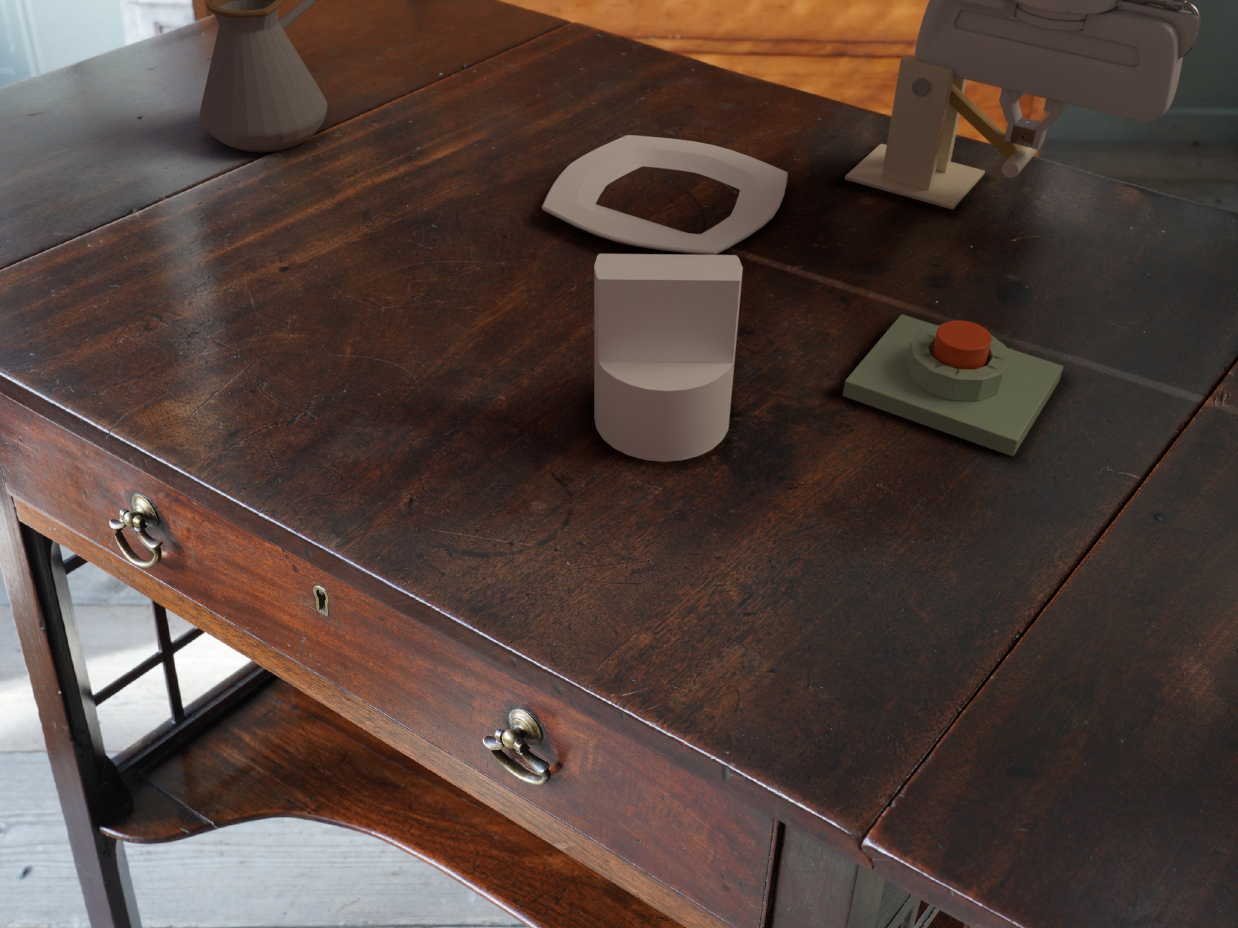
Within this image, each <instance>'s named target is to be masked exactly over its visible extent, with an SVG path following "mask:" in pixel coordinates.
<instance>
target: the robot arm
mask: <svg viewBox="0 0 1238 928" xmlns="http://www.w3.org/2000/svg"><path fill="white" fill-rule="evenodd" d="M1185 8H1186V9H1187V10H1185ZM1201 23H1202V18H1201V13H1200V12H1199V10H1198V8H1197V7H1196V6H1195V5H1194V4H1192V3H1191V2H1189V1H1188V0H928V2H927V4H926V8H925V10H924V13H923V16H922V20H921V22H920V26H919V30H918V34H917V38H916V42H915V49H914V58H916V59H917V60H918V61H921V62H925V63H930V64H934V65H939V66H943V67H947V68H952V69H954V71H953V77H957V78H962V79H966V80H967V81H969V82H975V83H979V84H983V85H987V86H991V87H995V88H999V89H1001V91H1000V95H999V99H998V101H999V104H1000V107H1001V110H1002V112H1003V116H1004V119H1005V121H1006V123H1007V125H1006V129H1005V133H1006V134H1005V138H1004V141H1005V142H1008V143H1013V144H1017V145H1018V146H1020V145H1021V146H1025V147H1028V148H1032V149H1036V150H1037V151H1039V150H1040V149H1041V147H1042V146H1043V144H1044V142H1045V138H1046V135H1047V132H1048V128H1049V127H1050V126H1051V125H1052V124H1053V123H1054V122H1055V121H1056V120H1057V119H1058V118H1059V117H1061V115H1062V114H1063V113H1064V112H1065V110H1066V109H1067V108H1068V106H1069V105H1070V106H1075V107H1079V108H1082V109H1083V108H1084V109H1087V110H1091V111H1096V112H1100V113H1103V114H1104V113H1106V114H1108V115H1113V116H1117V117H1121V118H1125V119H1129V120H1134V121H1138V122H1142V123H1146V124H1147V123H1148V124H1150V123H1153V122H1155V121H1156V120H1158V119H1159V118H1161V117H1162V116H1164V115H1166V113H1167V112H1168V111H1169V109H1170V107H1171V105H1172V104H1173V102H1174V99H1175V96H1176V92H1177V88H1178V85H1179V81H1180V76H1181V70H1182V66H1183V59H1184V57H1185V56H1187V55H1188V54H1189V53H1190V52H1191V51H1192V50H1193V48H1194V46H1195V44H1196V41H1197V38H1198V34H1199V32H1200V29H1201ZM1024 95H1029V96H1034V97H1038V98H1041V99H1045V102H1044V107H1043V110H1044V112H1048V114H1046V116H1044V118H1043V119H1041V120H1036V119H1031V118H1028V117H1024V116H1023V113H1022V109H1021V106H1020V102H1019V100H1020V99H1021V98H1022V97H1023V96H1024Z"/></svg>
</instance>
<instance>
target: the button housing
mask: <svg viewBox="0 0 1238 928" xmlns="http://www.w3.org/2000/svg"><path fill="white" fill-rule="evenodd" d="M940 325H941V324H933V323H931V322H927V321H924V320H921V319H917V318H916V317H915V318H914V317H911V316H909V315H905V314H903V313H901V314H900V315H899V317H898V318H897V319H896V320H895V321H894V322H893V323H892V324H891V326H890V327H889V328H888V329H887V331H886V332H885V333H884V334H883V336H881V338H879V340H878V341H877V342H876V344H875V345H874V346H873V347H871V349H870V351H869V352H868V353H867V354H866V355H865V356H864V358H863V359H862V360H861V361H860V362H859V364H858V365H857V366H856V367H855V369H853V371H851V373H850V374H849V376H848V377H847V378H846V379H845V380H844V385H843V390H842V397H845V398H847V399H850V400H853V401H856V402H859V403H862V404H865V405H867V406H870V407H873V408H875V409H879V410H881V411H884V412H887V413H889V414H893V415H895V416H898V417H900V418H904V419H906V420H909V421H912V422H915V423H918V424H920V425H923V426H927V427H929V428H932V429H934V430H937V431H940V432H942V433H945V434H949V435H951V436H954V437H956V438H959V439H962V440H966V441H968V442H971V443H974V444H976V445H980V446H982V447H985V448H988V449H991V450H993V451H995V452H998V453H1002V454H1005V455H1007V456H1010V457H1014V456H1015V455H1016V453H1017V451H1018V450H1019V448H1020V446H1021V445H1022V443H1023V442H1024V440H1025V438H1026V436H1028V433H1029V431H1030V430H1031V428H1032V427H1033V425H1034V423H1035V422H1036V420H1037V418H1038V417H1039V416H1040V414H1041V412H1042V411H1043V409H1044V407H1045V406H1046V404H1047V402H1048V400H1049V399H1050V397H1051V396H1052V394H1053V393H1054V390H1055V389H1056V387H1057V386H1058V384H1059V383H1060V380H1061V377H1062V374H1063V370H1064V366H1063V365H1062V364H1058V363H1057V362H1056V363H1055V362H1053V361H1049V360H1047V359H1043V358H1040V357H1037V356H1033V355H1030V354H1027V353H1024V352H1021V351H1019V350H1015V349H1012V348H1009V347H1007V346H1006V344H1004V343H1003V342H1002V341H1000V340H999V339H997V338H996V337H995V336H993V335H992V333H990V335H991V338H992V341H991V345H990V349H989V353H988V357H987V361H986V363H985V365H984V366H983V367H981V368H978V369H975V370H971V369H956V368H953V367H950V366H947V365H944V364H941V363H940V362H939V361H938V360H936V359H935V358H934V357H933V353H932V352H933V347H934V342H935V337H936V332H937V329H938V327H939V326H940Z"/></svg>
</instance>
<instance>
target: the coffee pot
mask: <svg viewBox="0 0 1238 928" xmlns="http://www.w3.org/2000/svg"><path fill="white" fill-rule="evenodd" d="M318 1H319V0H302V1H300V2H299V4H297V5H296V6H294V7H293V8H292V9H290V10H289V11H288V12H287V13H286V14H285V13H284V15H283V16H280V18H279V8H281V6H282V5H283V0H207V1H206V8H207V9H208V11H209V12H211V13H212V14H213V15H214V18H215V19H216V22H217V24H218V28H217V33H216V36H215V37H216V38H215V42H214V46H213V51H212V55H211V60H210V64H209V68H208V73H207V77H206V83H205V87H204V91H203V95H202V100H201V104H200V108H199V118H200V121H201V124H202V126H203V127H204V128H205V129H206V131H207V132H208V133H209V134H210V135H211V136H212V137H213V138H214V139H216V140H217V141H219V142H220V143H222V144H224V145H225V146H228V147H230V148H234V149H236V150H239V151H243V152H248V153H273V152H280V151H285V150H288V149H292V148H294V147H297V146H298V145H300V144H302V143H303V142H305V141H306V140H308V139H309V138H311V137H313V136H314V135H315V134H316V133H317V132H318V130H319V129H320V127H322V125H323V124H324V122H325V119H326V116H327V111H328V102H327V99H326V97H325V96H324V94H323V92H322V90H321V89H320V87H319V85H318V84H317V82H316V81H315V79H314V77H313V76H312V73H310V71H309V69H308V68H307V66H306V64H305V62H304V61H303V59H302V58H301V56H300V55H299V53H298V51H297V50H296V48H295V47H294V44H293V43H292V42H291V40H290V38H289V37H288V35H287V33H286V31H285V30H286V29H287V28H288V27H289V26H291V25H292V24H293V23H294V22H295V21H296V20H298V19H299V18H300V17H301V16H302V15H303V14H305V13H306V12H307V11H308V10H309V9H310V8H311V7H313V6H314V5H315V4H316V3H317V2H318Z"/></svg>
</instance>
